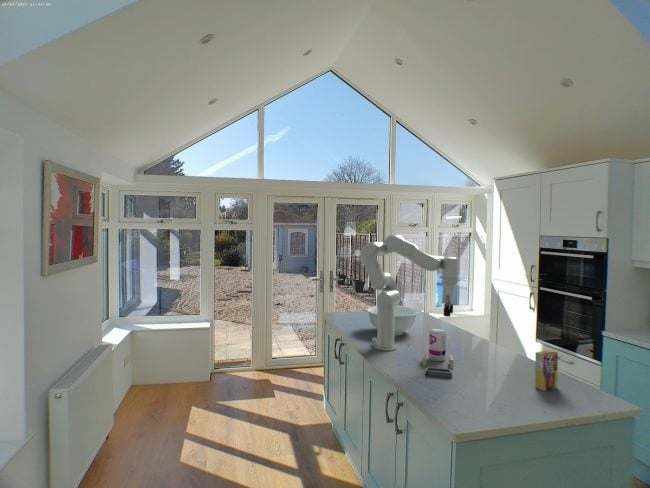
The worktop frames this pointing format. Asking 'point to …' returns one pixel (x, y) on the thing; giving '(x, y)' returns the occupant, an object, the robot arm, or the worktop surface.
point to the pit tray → (438, 372)
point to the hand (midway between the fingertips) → (448, 314)
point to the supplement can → (437, 344)
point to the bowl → (396, 318)
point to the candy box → (546, 370)
